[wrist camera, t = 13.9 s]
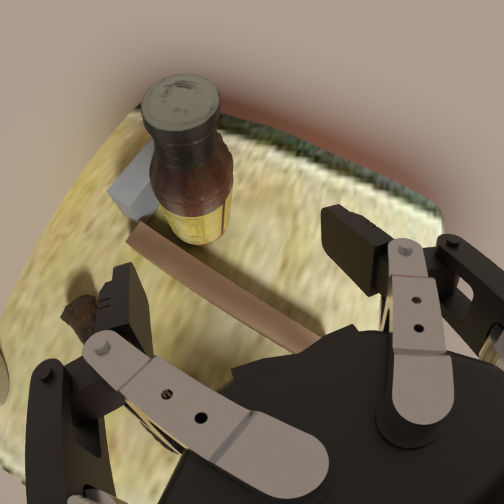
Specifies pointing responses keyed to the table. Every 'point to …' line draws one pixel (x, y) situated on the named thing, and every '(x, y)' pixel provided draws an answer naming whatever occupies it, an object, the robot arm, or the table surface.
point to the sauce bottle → (189, 157)
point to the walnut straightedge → (220, 290)
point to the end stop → (136, 188)
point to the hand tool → (89, 329)
